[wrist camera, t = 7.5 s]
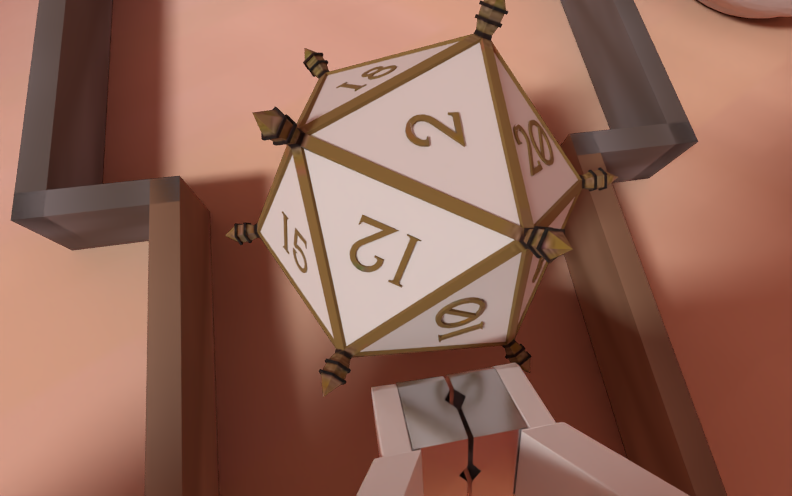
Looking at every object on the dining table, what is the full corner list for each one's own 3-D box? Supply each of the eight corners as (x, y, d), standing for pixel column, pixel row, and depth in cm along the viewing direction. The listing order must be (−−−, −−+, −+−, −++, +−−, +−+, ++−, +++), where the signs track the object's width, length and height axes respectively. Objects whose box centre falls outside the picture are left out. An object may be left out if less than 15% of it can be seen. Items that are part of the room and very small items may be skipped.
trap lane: (34, 741, 10) (-174, 963, 6) (102, -145, 20) (40, -272, 16) (796, 543, 12) (986, 609, 9) (516, -151, 22) (548, -261, 18)
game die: (393, 239, 18) (490, -17, 13) (541, 392, 14) (790, 96, 8) (170, 280, 13) (174, -146, 7) (295, 564, 8) (571, -18, 3)
